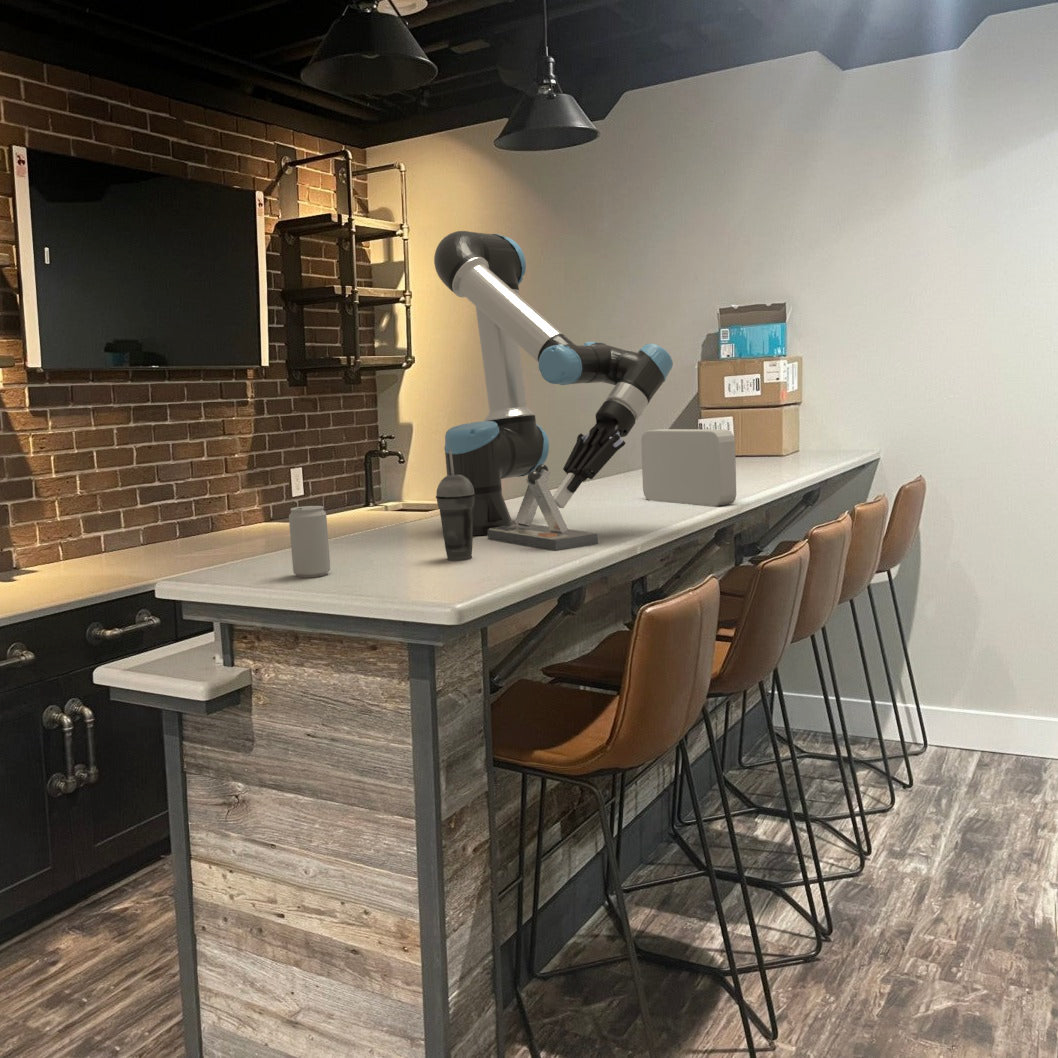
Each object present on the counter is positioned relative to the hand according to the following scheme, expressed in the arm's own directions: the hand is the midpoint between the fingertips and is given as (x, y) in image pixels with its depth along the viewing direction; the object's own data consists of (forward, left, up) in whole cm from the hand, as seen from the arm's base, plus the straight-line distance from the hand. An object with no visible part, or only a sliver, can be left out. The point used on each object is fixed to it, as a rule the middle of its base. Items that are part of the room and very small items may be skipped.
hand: (557, 503), depth 198 cm
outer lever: (0, +1, -6) cm, 6 cm away
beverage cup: (-17, -13, -8) cm, 23 cm away
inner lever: (-10, +10, -6) cm, 15 cm away
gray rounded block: (+22, +64, -8) cm, 68 cm away
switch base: (-5, +6, -8) cm, 11 cm away
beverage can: (-40, -27, -8) cm, 49 cm away
